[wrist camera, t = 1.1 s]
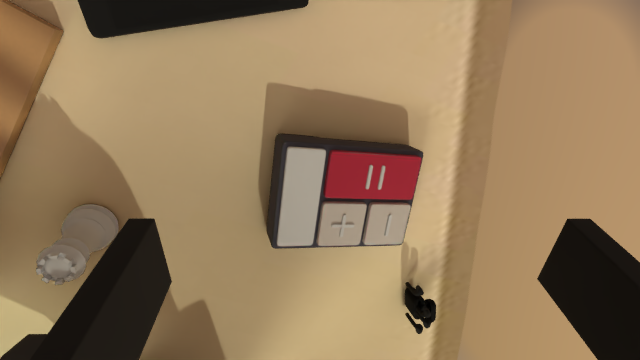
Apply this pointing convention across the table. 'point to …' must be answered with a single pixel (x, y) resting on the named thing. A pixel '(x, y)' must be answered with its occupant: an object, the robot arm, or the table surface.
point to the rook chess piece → (77, 243)
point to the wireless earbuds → (419, 307)
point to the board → (21, 69)
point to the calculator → (340, 192)
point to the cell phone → (170, 13)
